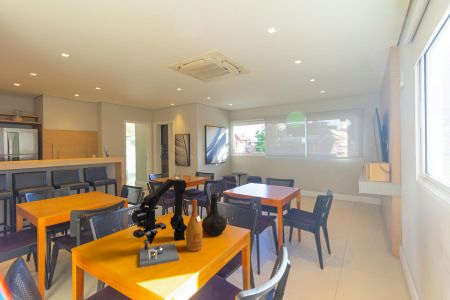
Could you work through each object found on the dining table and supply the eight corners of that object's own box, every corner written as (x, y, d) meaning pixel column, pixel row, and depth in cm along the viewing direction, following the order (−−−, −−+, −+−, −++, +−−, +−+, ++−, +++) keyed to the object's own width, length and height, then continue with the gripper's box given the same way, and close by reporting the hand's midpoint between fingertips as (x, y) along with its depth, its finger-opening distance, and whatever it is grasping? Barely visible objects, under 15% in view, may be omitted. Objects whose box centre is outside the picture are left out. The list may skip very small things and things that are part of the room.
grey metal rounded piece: (147, 248, 132) (147, 238, 132) (164, 250, 130) (164, 240, 129) (138, 256, 123) (137, 244, 123) (156, 258, 121) (156, 246, 121)
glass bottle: (211, 240, 148) (211, 198, 148) (197, 232, 162) (196, 193, 162) (231, 233, 159) (231, 194, 159) (216, 226, 173) (216, 190, 173)
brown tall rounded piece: (189, 253, 130) (189, 202, 129) (184, 246, 138) (184, 198, 138) (204, 250, 134) (204, 200, 134) (199, 243, 143) (198, 196, 142)
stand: (173, 245, 141) (173, 234, 141) (179, 260, 122) (179, 247, 122) (139, 250, 133) (139, 238, 133) (140, 267, 115) (140, 253, 115)
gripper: (155, 211, 143) (156, 235, 144) (127, 219, 129) (128, 245, 129) (166, 214, 136) (166, 240, 137) (138, 223, 122) (138, 251, 122)
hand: (150, 244), depth 131 cm, fingers closed
